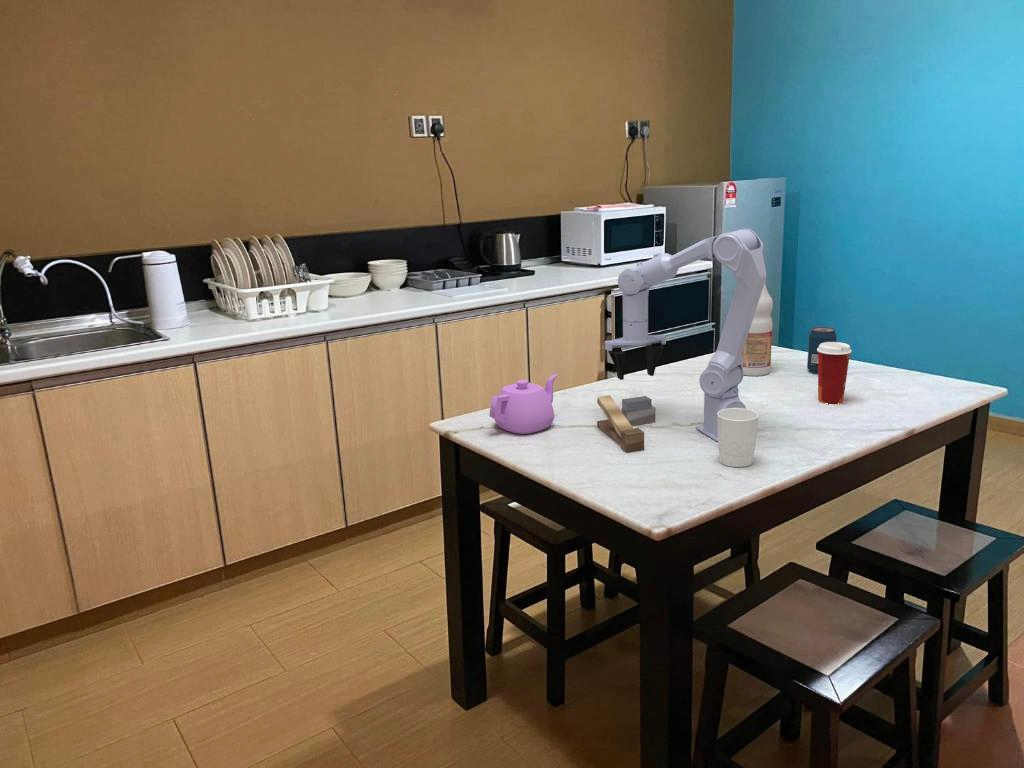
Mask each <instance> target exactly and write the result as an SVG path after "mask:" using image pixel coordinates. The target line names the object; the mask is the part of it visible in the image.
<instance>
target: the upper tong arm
mask: <svg viewBox="0 0 1024 768" xmlns="http://www.w3.org/2000/svg"><path fill="white" fill-rule="evenodd" d="M596 401H597V402H596V403H597V405H598V406H599V407H600V409H601V410H602V412H603V414H604V416H606V418H607V419H608V420H609V421H610V422H611V424H612V425H613V427H614V428H615V430H616V431H617V433H618V434H619V436H620V437H621V430H627V429H633V428H634V426H631V425H630V423H629V422H628V420H627V419H626V417H625V416H624V415H623V413H622V409H621V408H620V407H619V406H618V405H617V403H616V402H615V400H614V399H613V398H612V396H611V395H601V396H597V400H596Z"/></svg>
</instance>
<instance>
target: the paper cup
mask: <svg viewBox="0 0 1024 768" xmlns="http://www.w3.org/2000/svg"><path fill="white" fill-rule="evenodd" d="M817 351H818V375H817V380H818V381H817V400H819V401H820V402H823V403H828V404H827V405H829V404H837V405H839V404H838V403H841V404H843V403H844V397H845V391H846V384H847V378H848V370H849V369H848V368H849V362H850V355H851V353H852V352H853V350H852V349H851V346H850V344H848V343H844V342H841V341H839V342H838V341H836V342H825V343H821V344H820V345H819V347H818V348H817ZM819 401H818V402H819ZM820 402H819V403H820ZM842 402H843V403H842ZM823 403H822V404H823Z"/></svg>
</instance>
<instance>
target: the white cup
mask: <svg viewBox="0 0 1024 768" xmlns="http://www.w3.org/2000/svg"><path fill="white" fill-rule="evenodd" d="M759 416H760V415H759V413H758V412H757V411H755V410H752V409H748V408H746V409H744V408H727V409H723V410H720V411H718V413H717V429H718V441H717V448H718V460H719V463H721V464H723V465H724V466H727V467H733V468H745V467H749V466H751V465H753V464H754V461H755V453H756V452H755V450H756V449H757V448H756V446H757V438H758V430H759V418H760V417H759Z"/></svg>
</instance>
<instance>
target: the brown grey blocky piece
mask: <svg viewBox="0 0 1024 768" xmlns="http://www.w3.org/2000/svg"><path fill="white" fill-rule="evenodd" d="M621 408H622V407H621ZM621 412H622V413H623V415H624V416H625V417H626V419H627V420H628V422H629V423H630V425H631V426H632V427H633V429H627V430H621V437H620V436H619V434H618V433H617V431H616V430H615V428H614V427H613V425H612V424H611V422H610V421H609V420H608V418H607V419H602V420H597V421H596V429H597V428H598V429H599V430H600V431H602V432H603V433H604V435H607V437H608V438H610V439H611V440H612V441H614V442H615V443H616V444H617V445H619V446H620V449H622V450H623V451H624V452H625V453H627V454H629V453H634V452H641V451H645V431H643V430H642V429H640V428H639V427H636V426H641V425H647V424H648V425H649V424H653V423H654V424H655V423H656V406H654V405H653V404H652V405H651V408H646V409H640V410H633V411H626V410H625V409H623V408H622V409H621ZM634 426H635V427H634Z"/></svg>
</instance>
